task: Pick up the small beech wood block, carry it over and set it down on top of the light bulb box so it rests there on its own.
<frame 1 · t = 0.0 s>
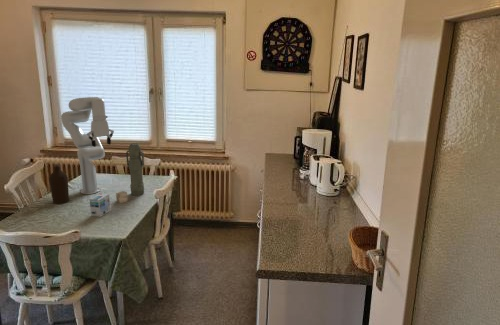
hand: (101, 145, 235), 37 cm above the table, tool pointing down, fingers open, 9 cm apart
olive oil: (61, 201, 240), on the table
light bulb box: (101, 213, 222), on the table
thermos: (137, 193, 257), on the table
beech block: (122, 201, 242), on the table
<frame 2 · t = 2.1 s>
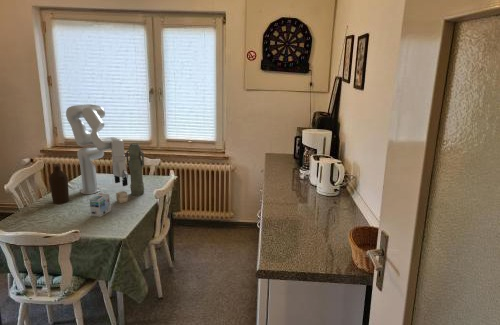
hand: (121, 184, 239), 12 cm above the table, tool pointing down, fingers open, 9 cm apart
nothing on the table moved.
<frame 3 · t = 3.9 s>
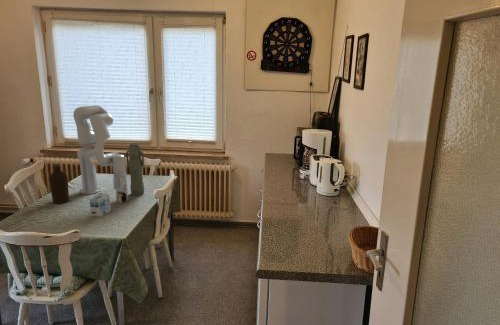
hand: (122, 200, 242), 1 cm above the table, tool pointing down, fingers closed on beech block, 5 cm apart
beech block: (122, 201, 242), on the table, touching gripper
everything else where it was.
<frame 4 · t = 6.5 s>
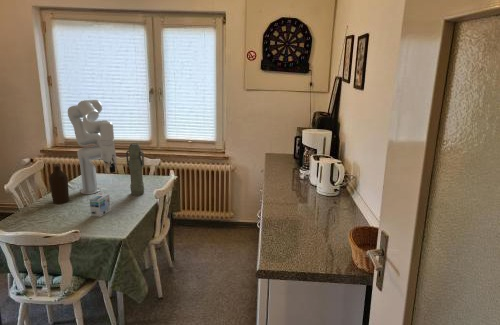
hand: (110, 171, 227), 23 cm above the table, tool pointing down, fingers closed on beech block, 5 cm apart
beech block: (110, 172, 228), point 22 cm above the table, touching gripper
everything else where it was.
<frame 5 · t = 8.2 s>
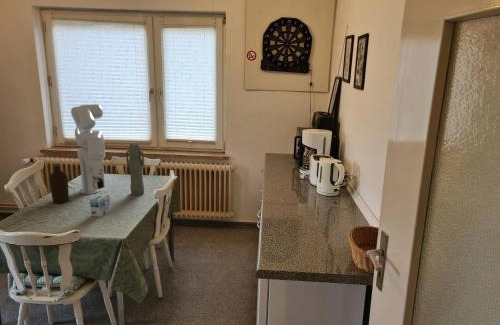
hand: (98, 186, 218), 17 cm above the table, tool pointing down, fingers closed on beech block, 5 cm apart
beech block: (98, 187, 218), point 16 cm above the table, touching gripper
everything else where it was.
when the fingers open (13 cm above the table, at t = 9.3 s): beech block drops 1 cm, resting on light bulb box.
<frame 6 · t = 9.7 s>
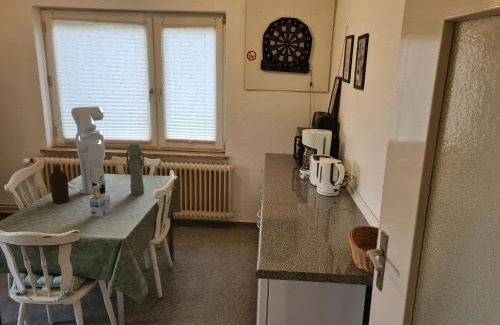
hand: (99, 191, 219), 14 cm above the table, tool pointing down, fingers open, 9 cm apart
light bulb box: (101, 213, 222), on the table, touching beech block
beech block: (99, 196, 219), point 11 cm above the table, touching light bulb box
everything else where it was.
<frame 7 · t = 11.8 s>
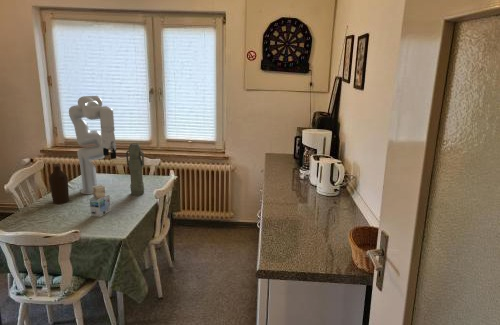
hand: (109, 157, 223), 32 cm above the table, tool pointing down, fingers open, 9 cm apart
nothing on the table moved.
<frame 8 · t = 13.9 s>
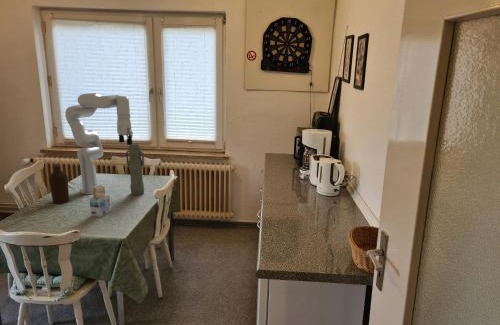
hand: (125, 143, 233), 38 cm above the table, tool pointing down, fingers open, 9 cm apart
nothing on the table moved.
at the end: beech block inside the target area on the light bulb box (0.0 cm from its centre), point 11.0 cm above the light bulb box's base; beech block tilted 0°; beech block touching light bulb box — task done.
